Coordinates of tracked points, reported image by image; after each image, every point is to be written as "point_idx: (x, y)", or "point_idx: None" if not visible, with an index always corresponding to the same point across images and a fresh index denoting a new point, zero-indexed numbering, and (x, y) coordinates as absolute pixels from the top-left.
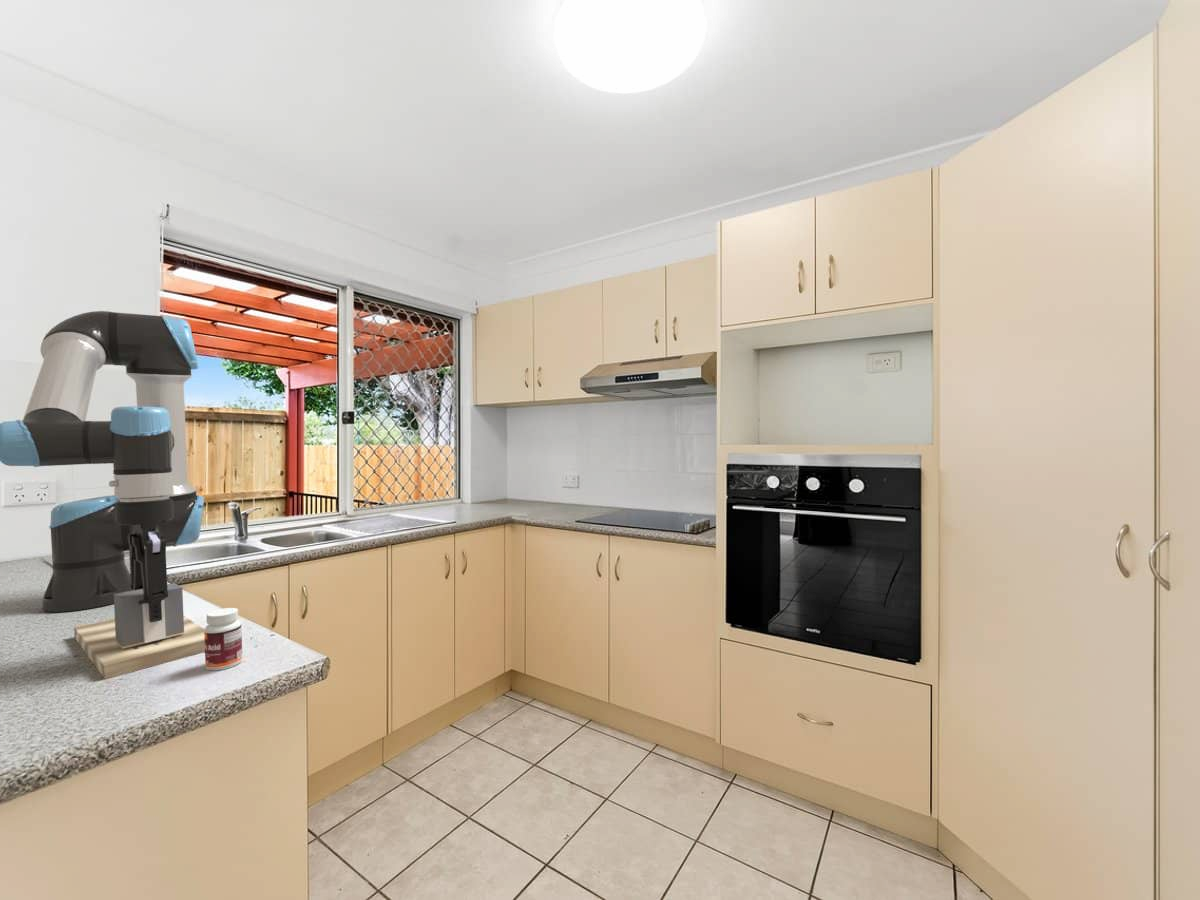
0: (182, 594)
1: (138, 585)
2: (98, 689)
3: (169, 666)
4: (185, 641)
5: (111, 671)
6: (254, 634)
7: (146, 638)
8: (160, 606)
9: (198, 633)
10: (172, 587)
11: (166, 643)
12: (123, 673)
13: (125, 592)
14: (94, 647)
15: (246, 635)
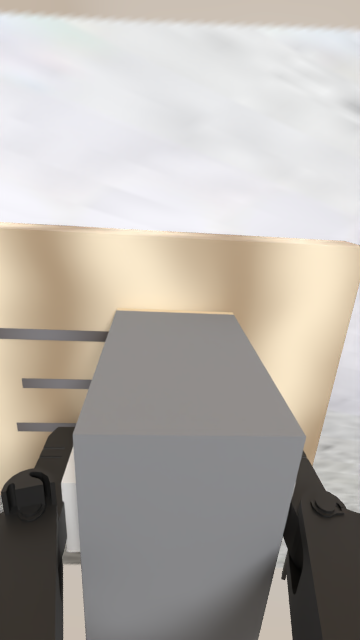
0: (286, 404)
1: (61, 613)
2: (343, 481)
3: (355, 367)
4: (308, 327)
5: None
6: (328, 78)
7: None
8: (317, 480)
9: (259, 272)
10: (235, 472)
11: (270, 369)
12: None
13: (100, 626)
14: None
15: (307, 107)
